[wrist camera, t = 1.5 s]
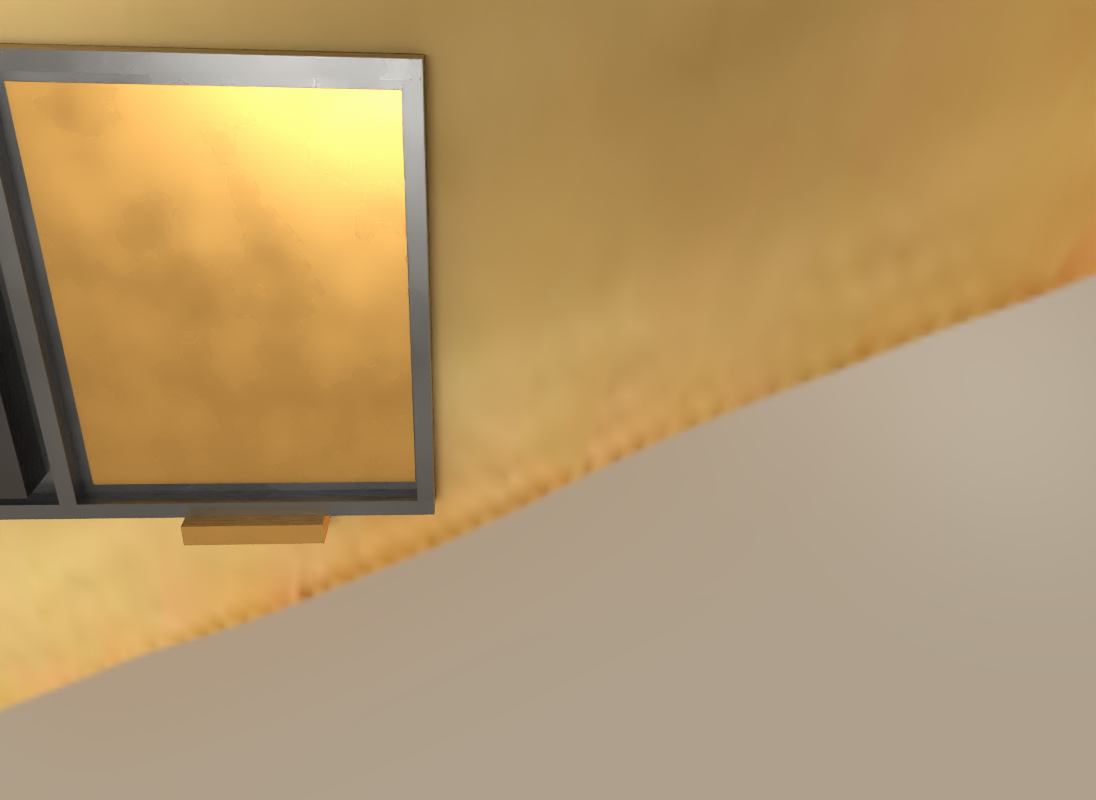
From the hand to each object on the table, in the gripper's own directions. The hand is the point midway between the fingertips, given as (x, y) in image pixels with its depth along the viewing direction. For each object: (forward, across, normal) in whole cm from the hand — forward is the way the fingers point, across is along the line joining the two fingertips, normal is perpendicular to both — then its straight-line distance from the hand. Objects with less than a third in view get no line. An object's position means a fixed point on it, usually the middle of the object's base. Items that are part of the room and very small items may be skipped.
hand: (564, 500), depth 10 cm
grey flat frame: (+22, -16, -5) cm, 27 cm away
